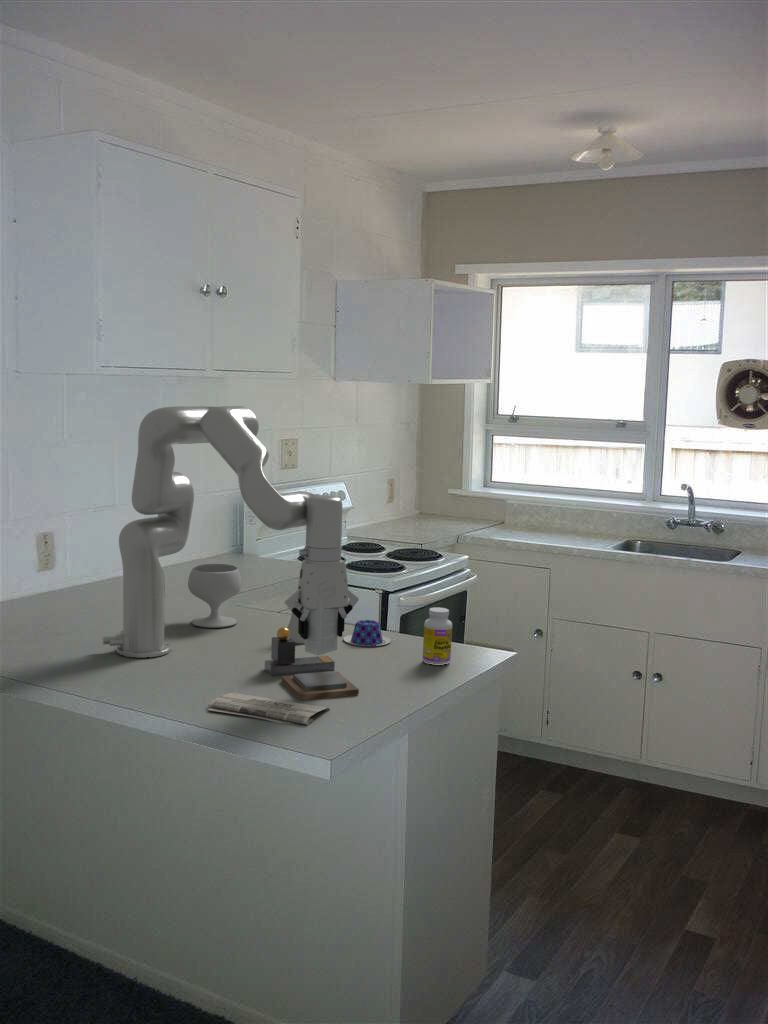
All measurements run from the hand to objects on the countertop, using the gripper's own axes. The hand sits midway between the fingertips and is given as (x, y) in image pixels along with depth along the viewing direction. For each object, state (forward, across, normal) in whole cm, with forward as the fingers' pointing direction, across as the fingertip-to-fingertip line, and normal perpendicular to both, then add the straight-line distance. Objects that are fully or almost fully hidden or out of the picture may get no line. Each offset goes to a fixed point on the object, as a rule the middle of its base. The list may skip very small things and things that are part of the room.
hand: (321, 635), depth 215 cm
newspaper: (+12, -14, -11) cm, 22 cm away
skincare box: (+4, 0, 0) cm, 4 cm away
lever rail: (+11, 0, +14) cm, 18 cm away
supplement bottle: (+12, +33, +11) cm, 37 cm away
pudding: (+12, +24, +33) cm, 43 cm away
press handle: (+9, -4, +14) cm, 17 cm away
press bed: (+12, 0, 0) cm, 12 cm away
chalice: (+12, -9, +60) cm, 62 cm away
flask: (+12, +7, +38) cm, 40 cm away
